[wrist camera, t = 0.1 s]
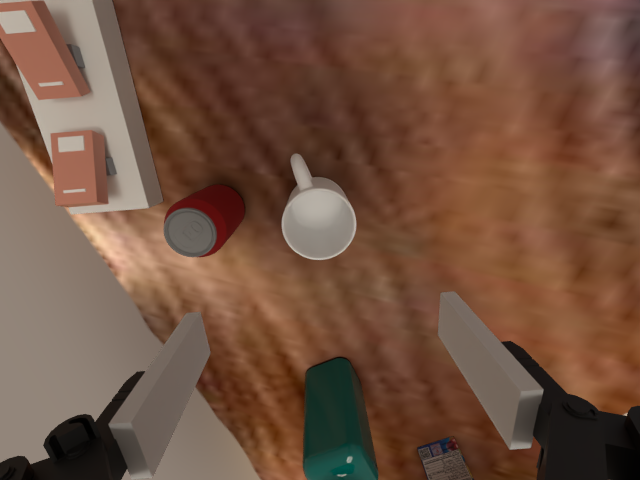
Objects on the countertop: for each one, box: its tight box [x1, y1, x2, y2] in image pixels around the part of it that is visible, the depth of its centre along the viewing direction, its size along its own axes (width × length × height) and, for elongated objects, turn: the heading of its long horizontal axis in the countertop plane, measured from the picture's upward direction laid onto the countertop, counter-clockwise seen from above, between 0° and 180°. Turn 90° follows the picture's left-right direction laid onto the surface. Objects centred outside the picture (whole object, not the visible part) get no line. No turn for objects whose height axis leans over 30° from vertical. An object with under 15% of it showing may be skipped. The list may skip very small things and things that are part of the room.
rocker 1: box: [0, 1, 90, 100], centre depth 30 cm, size 8×5×2 cm, turn 5°
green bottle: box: [303, 358, 378, 480], centre depth 43 cm, size 10×8×22 cm
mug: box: [282, 154, 356, 260], centre depth 37 cm, size 12×8×10 cm
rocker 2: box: [50, 130, 109, 207], centre depth 34 cm, size 8×5×2 cm, turn 4°
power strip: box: [0, 0, 164, 214], centre depth 33 cm, size 37×10×5 cm, turn 4°
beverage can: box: [164, 185, 245, 257], centre depth 37 cm, size 7×7×12 cm
